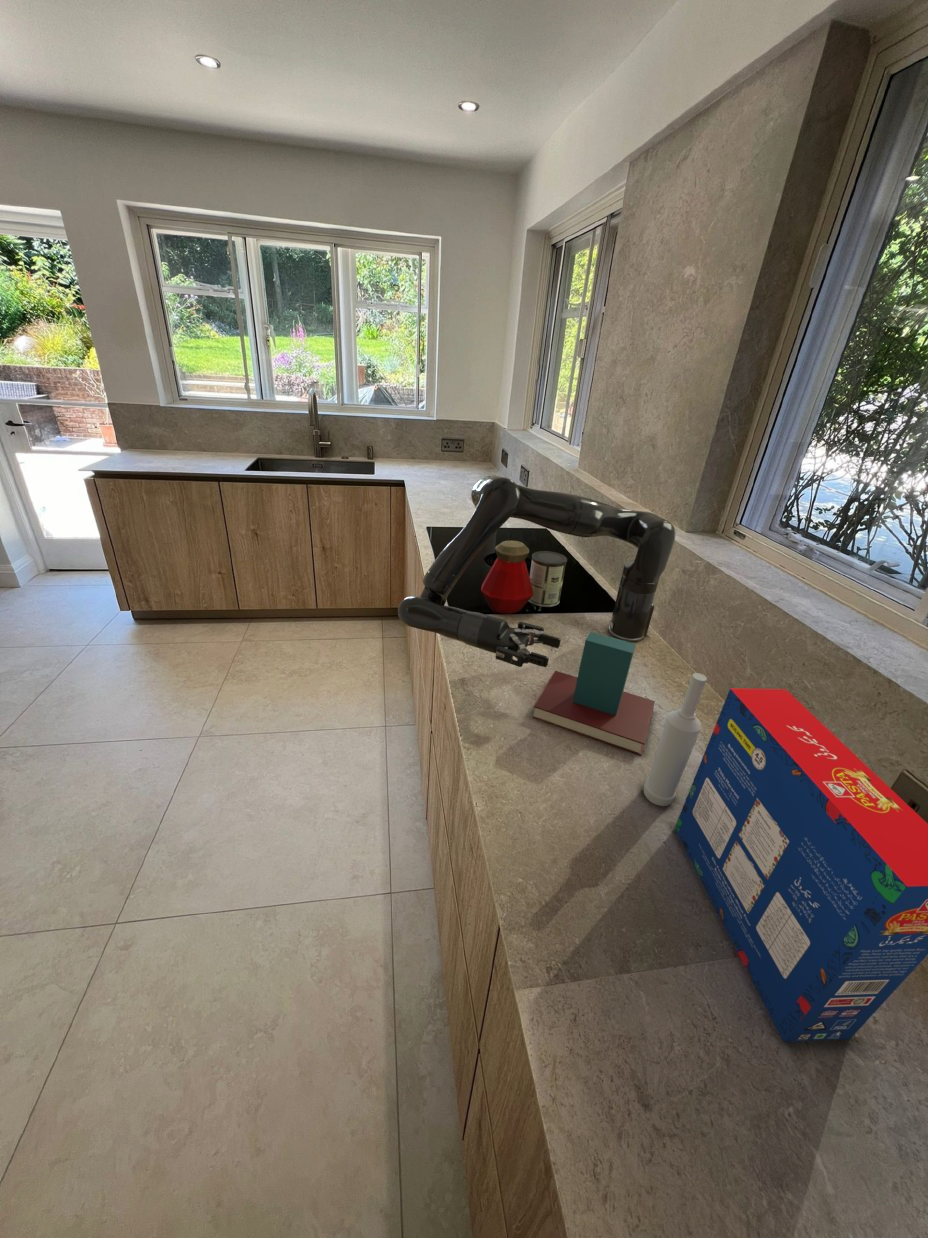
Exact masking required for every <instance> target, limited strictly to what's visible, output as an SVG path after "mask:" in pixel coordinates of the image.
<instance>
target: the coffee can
mask: <svg viewBox="0 0 928 1238" xmlns="http://www.w3.org/2000/svg"><path fill="white" fill-rule="evenodd" d="M567 562H568V558H567V557H566V556H565V555H564V554H562V553H559V552H555V551H549V550H539V551H534V552H533V553H532V554H531V565H530V571H529V577H530V581H531V584H532V588H533V596H532V597H531V598H530V599H529V601H528V603H530V604H532V605H535V606H538V607H543V608H552V607H556V606H557V605H559V604H560V601H561V596H562V595H561V594H562V589H563V583H564V578H565V577H564V576H565V571H566V567H567V566H566V565H567Z"/></svg>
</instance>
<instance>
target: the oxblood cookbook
mask: <svg viewBox="0 0 928 1238" xmlns="http://www.w3.org/2000/svg"><path fill="white" fill-rule="evenodd" d="M577 678H578V676H574V675H571V674H568V673H564V672H561V671H558V670H554V672H553V673H552V675H551V677H550V679H549V680H548V682H547V684H546V685H545V687H544V689H543V691H542V693H541V694H540V696H539V697H538V698H537V701H536V702H535V704H534V706H533V708H534V709H533V715H532V719H535V720H538V721H541V722H543V723H546V724H549V725H552V726H555V727H558V728H560V729H563V730H567V731H568V732H569V731H570V732H573V733H575V734H578V735H581V736H584V737H587V738H590V739H593V740H595V741H598V742H601V743H603V744H606V745H610V746H613V747H615V748H619V749H621V750H624V751H627V752H630V753H632V754H635V755H638V756H642V755H643V751H644V747H645V745H646V742H647V738H648V733H649V729H650V725H651V720H652V716H653V711H654V708H655V703H656V700H653V699H650V698H646V697H643V696H639V695H637V694H633V693H630V692H628V691H627V692H626V691H625V690H623V694H622V698H621V701H620V705H619V708H618V711H617V714H616V716H615V715H612V714H609V713H605V712H602V711H599V710H596V709H593V708H590V707H587V706H584V705H581V704H578V703H575V702H572V701H573V696H574V692H575V687H576V682H577Z"/></svg>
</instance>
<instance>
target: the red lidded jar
mask: <svg viewBox="0 0 928 1238" xmlns="http://www.w3.org/2000/svg"><path fill="white" fill-rule="evenodd" d="M494 549H495V553H496V559H495V561H494V562H493V564H492V566H491V568H490V570H489V572H488V573H487V575H486V576H485V578H484V580H483V582H482V584H481V588H480V591H481V594H482V596H483V598H484V600H485V602H486V604H487V606H488V609H490V610H491V611H492V612H494V613H496V614H500V615H513V614H517V613H519V612H521V611H522V609H523V608H524V607H525V606H526V605H527V604H528V603H529V599H530V598H531V597H532V596H533V588H532V584H531V581H530V573H529V570H528V567H527V563H526V559H527V557H528V556H529V553H530V549H529V547H528V546H527V545H526V544H525V543H523V542H522V541H518V540H505V541H504V540H503V541H502V542H500V543H499V544H497V545H496V546H495V548H494Z"/></svg>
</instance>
